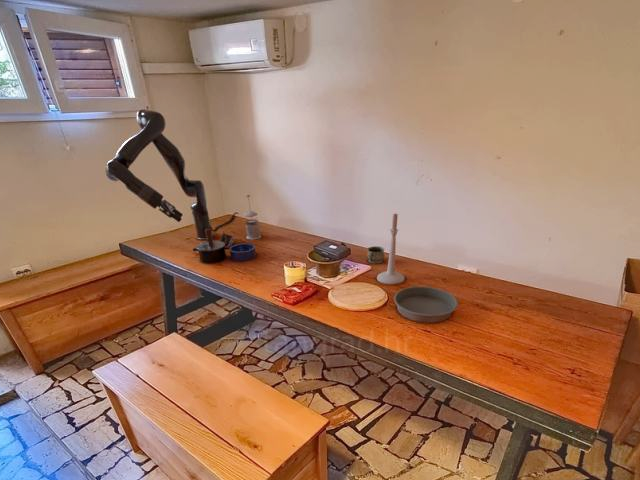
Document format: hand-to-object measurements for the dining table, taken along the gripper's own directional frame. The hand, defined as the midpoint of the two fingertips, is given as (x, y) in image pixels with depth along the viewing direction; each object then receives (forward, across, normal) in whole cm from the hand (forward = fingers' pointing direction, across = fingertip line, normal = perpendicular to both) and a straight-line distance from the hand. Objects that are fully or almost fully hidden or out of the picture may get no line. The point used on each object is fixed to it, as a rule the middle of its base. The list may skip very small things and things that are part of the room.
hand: (181, 218), depth 183 cm
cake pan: (+82, -86, -50) cm, 128 cm away
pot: (+24, 0, +8) cm, 25 cm away
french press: (+42, +30, -10) cm, 52 cm away
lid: (+19, 0, +3) cm, 19 cm away
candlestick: (+81, -54, -49) cm, 109 cm away
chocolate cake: (+30, +20, +2) cm, 36 cm away
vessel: (+82, -31, -50) cm, 101 cm away
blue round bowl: (+35, -2, -4) cm, 35 cm away
